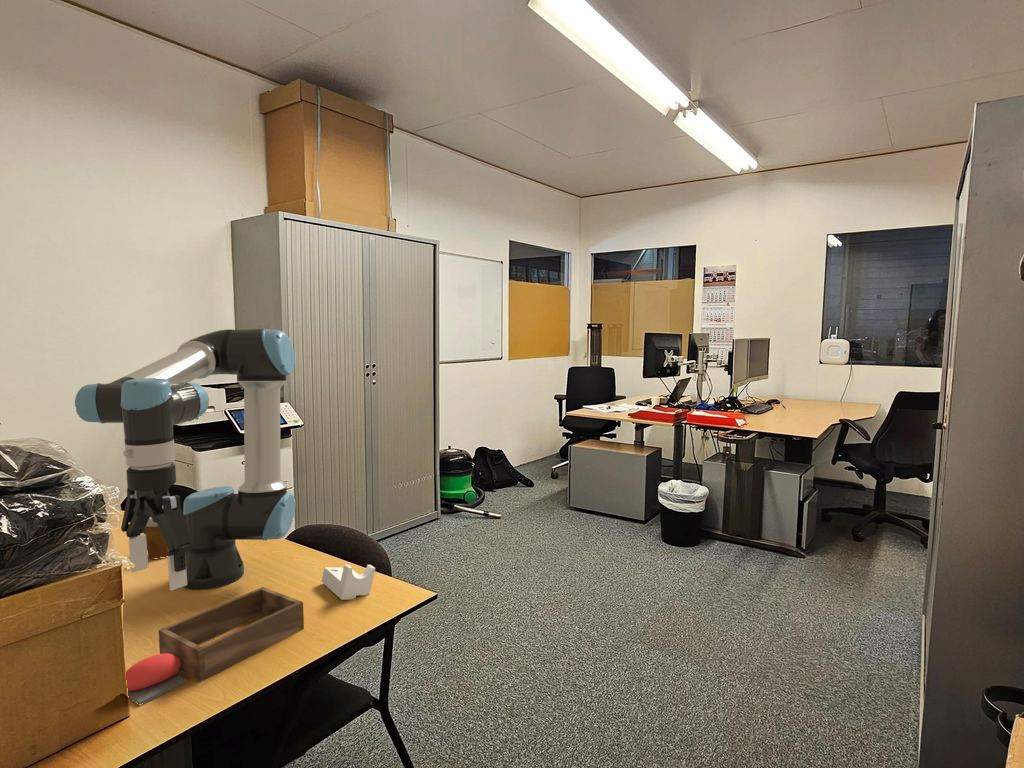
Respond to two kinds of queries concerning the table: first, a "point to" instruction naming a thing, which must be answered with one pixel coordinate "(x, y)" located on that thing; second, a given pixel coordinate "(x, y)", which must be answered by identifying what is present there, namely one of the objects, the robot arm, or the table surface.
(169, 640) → the walnut box
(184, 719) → the table surface
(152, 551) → the disposable coffee cup
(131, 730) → the table surface
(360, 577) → the bracket
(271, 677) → the table surface
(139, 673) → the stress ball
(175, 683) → the slate mat
